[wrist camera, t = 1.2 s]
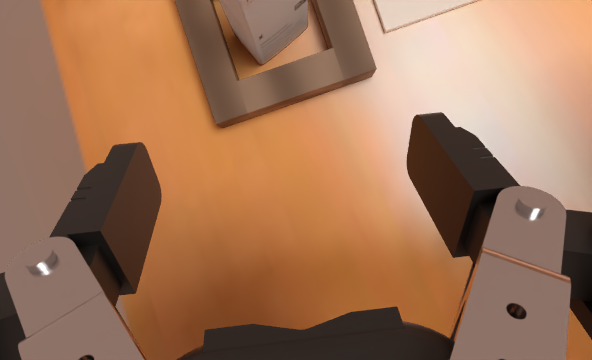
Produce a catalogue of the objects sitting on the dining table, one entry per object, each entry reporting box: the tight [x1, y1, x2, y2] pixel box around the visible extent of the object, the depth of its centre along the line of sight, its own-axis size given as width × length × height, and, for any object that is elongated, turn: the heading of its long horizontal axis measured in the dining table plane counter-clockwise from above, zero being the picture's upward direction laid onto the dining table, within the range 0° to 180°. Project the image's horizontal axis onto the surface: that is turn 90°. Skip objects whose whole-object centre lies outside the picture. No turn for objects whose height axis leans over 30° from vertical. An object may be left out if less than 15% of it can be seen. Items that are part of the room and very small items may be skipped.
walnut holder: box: [175, 0, 377, 128], centre depth 34 cm, size 15×15×2 cm
